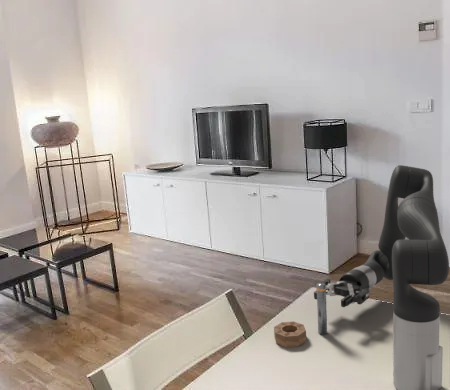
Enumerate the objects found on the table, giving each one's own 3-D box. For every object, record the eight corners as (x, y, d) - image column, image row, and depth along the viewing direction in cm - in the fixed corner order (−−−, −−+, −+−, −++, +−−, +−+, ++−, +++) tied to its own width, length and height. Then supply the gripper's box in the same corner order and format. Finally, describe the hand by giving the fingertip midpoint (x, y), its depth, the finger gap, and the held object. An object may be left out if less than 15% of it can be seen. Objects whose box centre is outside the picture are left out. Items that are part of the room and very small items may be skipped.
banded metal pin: (329, 332, 133) (327, 283, 131) (324, 335, 132) (322, 287, 129) (321, 329, 135) (319, 281, 132) (316, 333, 133) (314, 284, 131)
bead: (311, 337, 131) (311, 327, 131) (293, 350, 126) (293, 339, 125) (287, 328, 137) (286, 319, 136) (269, 340, 131) (268, 330, 131)
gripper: (337, 264, 149) (306, 281, 138) (380, 274, 139) (351, 293, 128) (337, 287, 151) (307, 306, 139) (381, 298, 141) (352, 319, 130)
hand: (328, 299), depth 134 cm, fingers open, 8 cm apart
